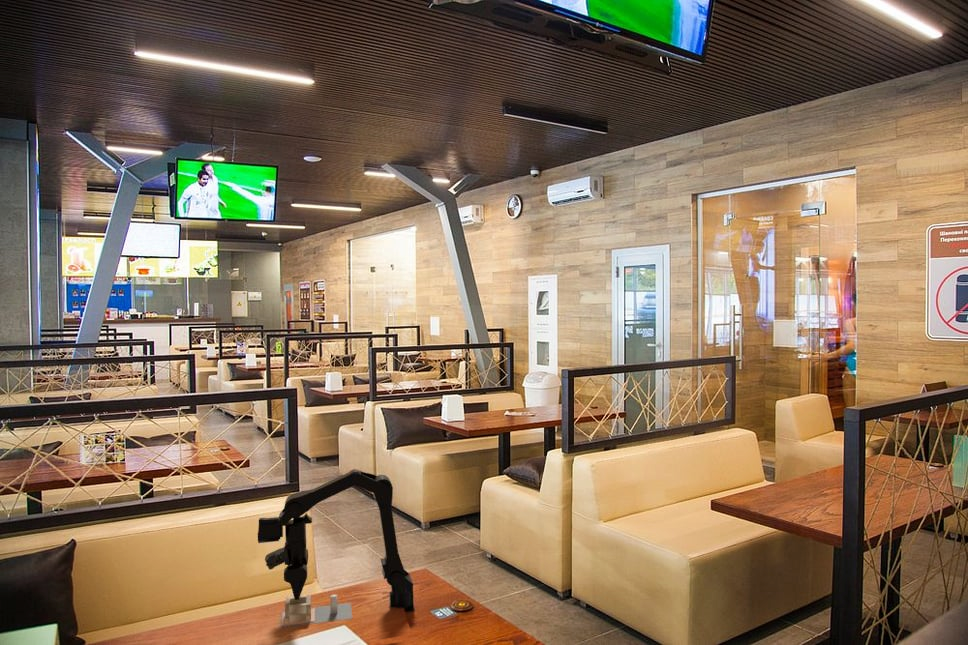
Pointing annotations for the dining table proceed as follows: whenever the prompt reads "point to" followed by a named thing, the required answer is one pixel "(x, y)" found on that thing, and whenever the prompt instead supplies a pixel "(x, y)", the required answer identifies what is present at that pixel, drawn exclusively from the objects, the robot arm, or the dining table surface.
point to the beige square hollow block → (298, 609)
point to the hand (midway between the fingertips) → (297, 593)
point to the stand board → (323, 614)
